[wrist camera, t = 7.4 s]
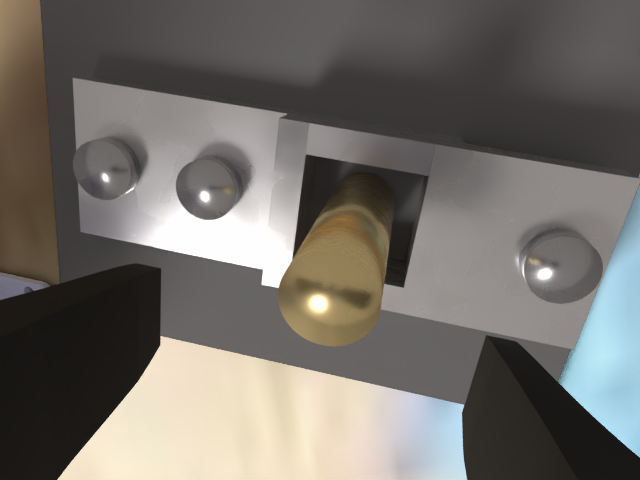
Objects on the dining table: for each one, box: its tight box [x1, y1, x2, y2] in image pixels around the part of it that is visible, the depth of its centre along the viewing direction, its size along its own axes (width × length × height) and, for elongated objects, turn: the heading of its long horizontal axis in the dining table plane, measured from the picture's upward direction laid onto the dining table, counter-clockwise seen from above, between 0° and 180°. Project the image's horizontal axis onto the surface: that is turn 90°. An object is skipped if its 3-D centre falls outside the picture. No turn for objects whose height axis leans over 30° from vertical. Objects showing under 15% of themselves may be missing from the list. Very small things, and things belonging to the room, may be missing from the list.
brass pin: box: [278, 172, 395, 346], centre depth 15 cm, size 2×2×8 cm
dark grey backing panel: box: [40, 0, 640, 405], centre depth 19 cm, size 22×16×1 cm
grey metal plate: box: [73, 76, 640, 350], centre depth 17 cm, size 19×6×3 cm, turn 82°
